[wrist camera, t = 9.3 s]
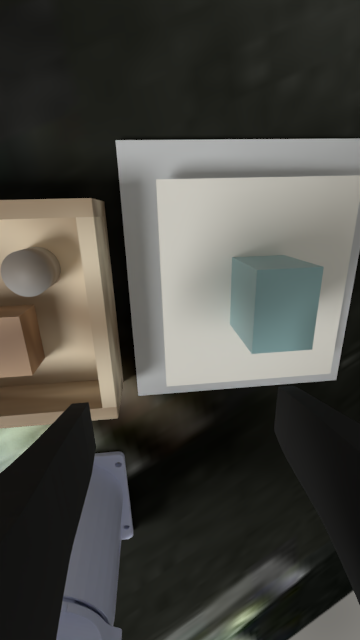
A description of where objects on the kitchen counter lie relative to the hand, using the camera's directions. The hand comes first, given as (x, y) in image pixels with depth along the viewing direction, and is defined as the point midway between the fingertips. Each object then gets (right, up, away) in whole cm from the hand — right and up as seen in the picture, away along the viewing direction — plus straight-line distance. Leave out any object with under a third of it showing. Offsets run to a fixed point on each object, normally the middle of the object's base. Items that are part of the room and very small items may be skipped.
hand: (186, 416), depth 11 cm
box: (-10, +5, +7) cm, 13 cm away
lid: (+4, +6, +8) cm, 11 cm away
